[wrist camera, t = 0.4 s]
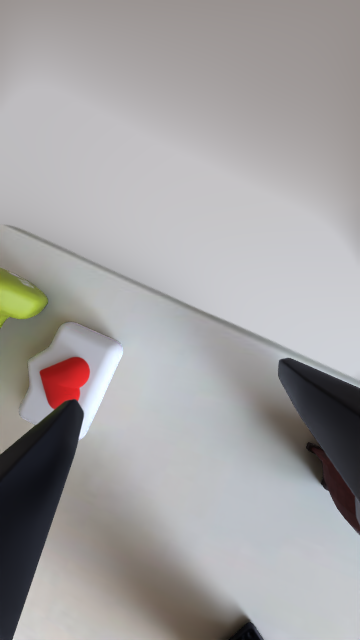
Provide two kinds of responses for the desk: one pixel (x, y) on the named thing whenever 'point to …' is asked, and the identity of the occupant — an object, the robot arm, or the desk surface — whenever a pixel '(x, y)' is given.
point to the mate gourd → (338, 489)
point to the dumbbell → (19, 297)
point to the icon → (71, 373)
